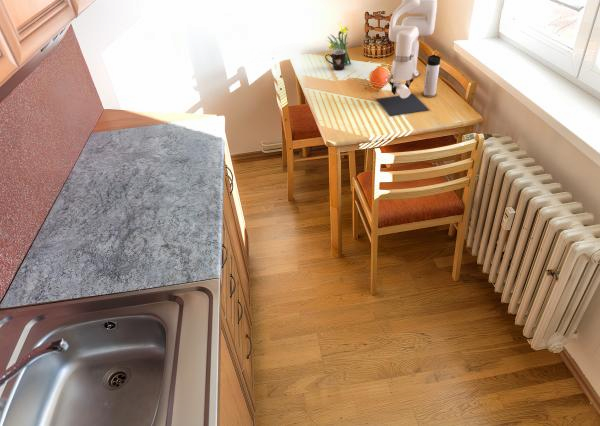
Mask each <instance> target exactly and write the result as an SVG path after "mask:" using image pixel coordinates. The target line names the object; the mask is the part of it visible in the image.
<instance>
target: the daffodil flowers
mask: <svg viewBox="0 0 600 426" xmlns="http://www.w3.org/2000/svg"><path fill="white" fill-rule="evenodd" d="M342 24H343V22H341V23H340V21H338V25H339V29H340V30H339V31H338V35H337V36H338V37H335V36H334V35H333V34H330V36H327V39H326V41H327V42H328V43H330V45H328V49H329V50H332V51H333V50H338V49H341V50H345V51H346V54H345V63H344V65H345V66H347V65H351V64H352V61H351V59H350V56H349V53H348V50H347V45H348V43H349V41H347V40H349V37H347V36H348V31H349V29H348V27H347V26H345V27H343V25H342ZM331 37H332V39H333V40H332V39H331ZM328 39H329V40H328ZM337 39H338V40H337Z"/></svg>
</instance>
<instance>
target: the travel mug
mask: <svg viewBox="0 0 600 426" xmlns="http://www.w3.org/2000/svg"><path fill="white" fill-rule="evenodd" d="M440 66H441V56H439V55H436V54H431V55H429V56H428V57H427V62H426V69H425V78H424V85H423V96H424V97H426V98H433V97H435V96H436V94H437V86H438V80H439V74H440Z"/></svg>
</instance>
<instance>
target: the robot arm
mask: <svg viewBox="0 0 600 426" xmlns="http://www.w3.org/2000/svg"><path fill="white" fill-rule="evenodd" d="M437 12H438V0H401V3H400V4H399V6H398V7H397V8H396V9H395V10H394V11H393V13H392V15H391V18H390V22H389V28H388V40H389V41H390V42H393V43H395V54H394V59H393V60H392V63H391V68H390V75H389V76H388V77H387V78H386V79H385V81H386V82H387V83H388V84H389V85H390V86H391V93H392V95H394V96H396V94H397V93H396V87H395V85H396V83H400V82H405V83H404V84H405V85H406V87H407V88H408V89H409V90H410V86H411V84H412V82H414V80H415V79H416V78H417V77H418V76H419V74H420V71H419V70H417V68H418V60H419V59H418V57H419V49H420V42H419V37H430V36H432V35H433V34H434V32H435V27H436V19H437ZM405 13H407V14H409V16H406V17H404V18H403V19H402V21H401V25H397V24H396V23H397V22H398V19H399V18H400V17H401V16H402V15H404V14H405ZM411 15H412V16H411ZM413 15H414V16H413ZM415 15H426V16H415Z"/></svg>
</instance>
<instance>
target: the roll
mask: <svg viewBox="0 0 600 426" xmlns="http://www.w3.org/2000/svg"><path fill="white" fill-rule="evenodd" d="M395 87H396V94H397V96H400V97H401V98H407V97H408V96H409V95H410V94H411V89H410V88H409V89H408V88H407V87H406V85H405V83H403V82H397V83H396V85H395Z"/></svg>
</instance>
